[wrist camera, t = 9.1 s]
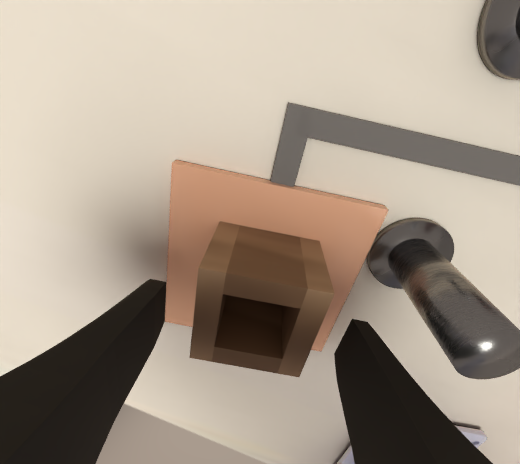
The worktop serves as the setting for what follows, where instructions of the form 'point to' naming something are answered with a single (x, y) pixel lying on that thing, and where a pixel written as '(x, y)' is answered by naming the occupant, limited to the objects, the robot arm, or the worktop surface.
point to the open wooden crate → (259, 299)
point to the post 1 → (445, 298)
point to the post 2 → (500, 37)
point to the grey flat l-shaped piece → (383, 146)
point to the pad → (266, 218)
